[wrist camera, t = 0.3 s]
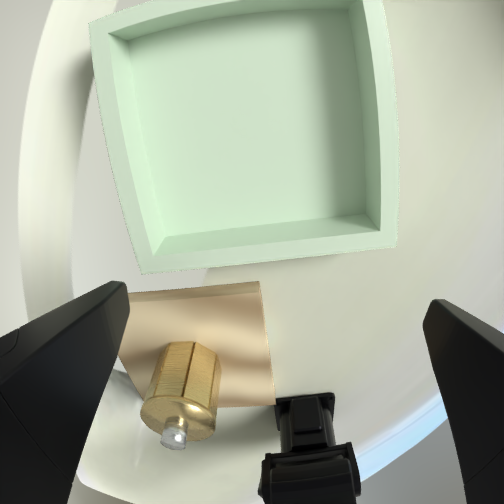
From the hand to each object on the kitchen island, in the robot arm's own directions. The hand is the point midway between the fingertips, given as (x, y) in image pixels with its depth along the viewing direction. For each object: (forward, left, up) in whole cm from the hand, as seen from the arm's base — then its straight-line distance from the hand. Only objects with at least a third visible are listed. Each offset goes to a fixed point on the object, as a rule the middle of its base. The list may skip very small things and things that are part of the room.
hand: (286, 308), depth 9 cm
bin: (+4, +1, -14) cm, 15 cm away
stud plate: (-15, +9, -14) cm, 22 cm away
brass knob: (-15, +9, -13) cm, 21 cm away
